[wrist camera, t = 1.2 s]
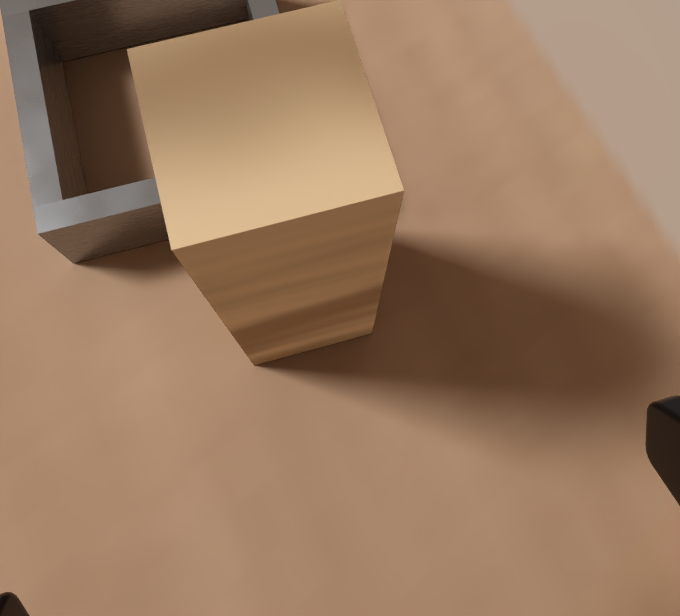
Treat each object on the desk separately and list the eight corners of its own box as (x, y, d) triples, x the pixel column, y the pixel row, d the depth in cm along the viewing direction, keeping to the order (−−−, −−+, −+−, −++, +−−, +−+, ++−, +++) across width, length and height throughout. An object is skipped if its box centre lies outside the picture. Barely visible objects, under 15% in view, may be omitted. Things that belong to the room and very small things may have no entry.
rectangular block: (372, 333, 24) (404, 190, 12) (254, 365, 23) (171, 250, 12) (339, 224, 25) (340, -1, 13) (226, 253, 24) (126, 49, 13)
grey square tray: (325, 199, 25) (324, 162, 22) (73, 263, 24) (37, 233, 21) (265, -6, 28) (256, -63, 25) (34, 47, 27) (-2, -6, 24)
